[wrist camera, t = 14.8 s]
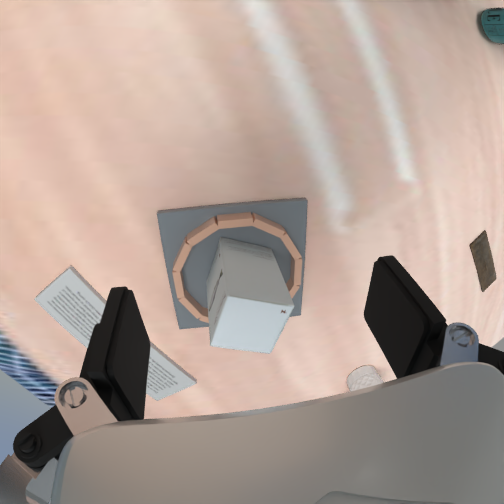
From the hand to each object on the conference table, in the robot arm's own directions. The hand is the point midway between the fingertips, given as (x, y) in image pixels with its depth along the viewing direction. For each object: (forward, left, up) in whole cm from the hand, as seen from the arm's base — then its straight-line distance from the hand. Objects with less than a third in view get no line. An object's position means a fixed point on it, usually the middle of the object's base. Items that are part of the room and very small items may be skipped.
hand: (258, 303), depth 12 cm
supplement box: (-2, +15, -28) cm, 32 cm away
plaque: (+19, +29, -30) cm, 46 cm away
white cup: (-26, +47, -29) cm, 61 cm away
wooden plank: (-52, +22, -29) cm, 64 cm away
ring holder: (-1, +16, -29) cm, 33 cm away
